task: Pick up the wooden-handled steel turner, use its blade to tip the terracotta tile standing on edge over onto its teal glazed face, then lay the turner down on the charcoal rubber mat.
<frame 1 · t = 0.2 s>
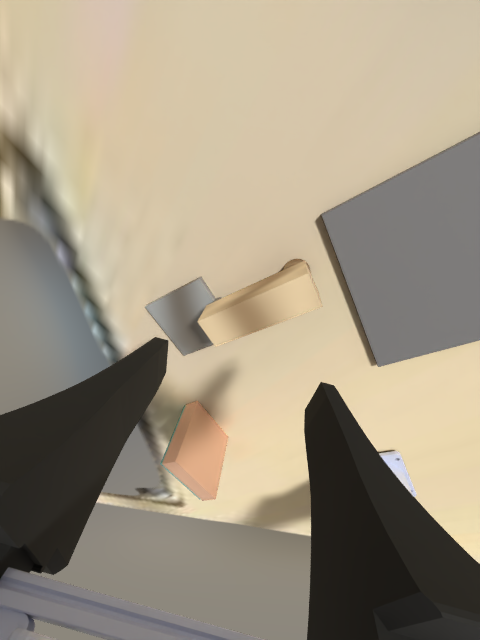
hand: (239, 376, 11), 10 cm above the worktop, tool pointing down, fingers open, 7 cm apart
tile: (207, 421, 30), on the worktop
turner: (234, 299, 21), on the worktop
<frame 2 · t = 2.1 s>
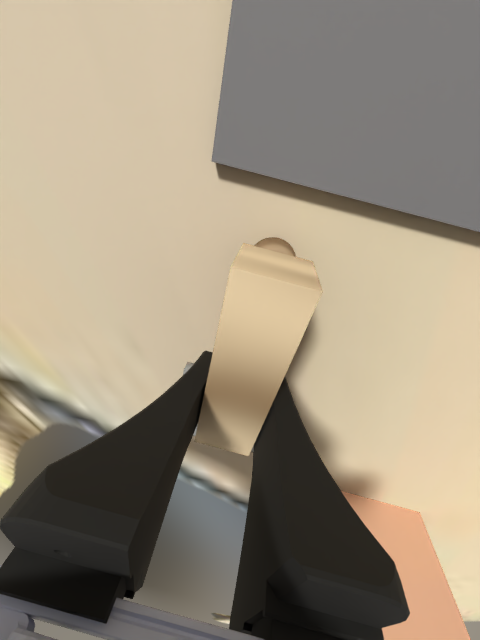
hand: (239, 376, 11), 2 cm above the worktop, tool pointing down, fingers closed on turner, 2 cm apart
tile: (368, 505, 19), on the worktop
turner: (243, 356, 13), on the worktop, touching gripper
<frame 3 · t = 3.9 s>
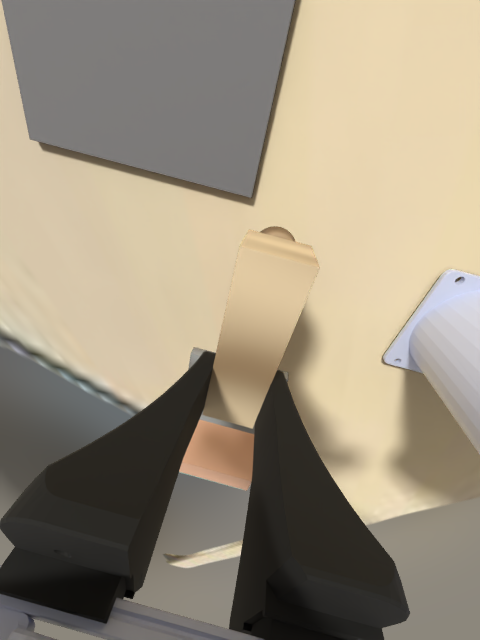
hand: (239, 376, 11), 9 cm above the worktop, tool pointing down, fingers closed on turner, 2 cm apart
tile: (224, 406, 26), on the worktop
turner: (246, 341, 14), point 5 cm above the worktop, touching gripper
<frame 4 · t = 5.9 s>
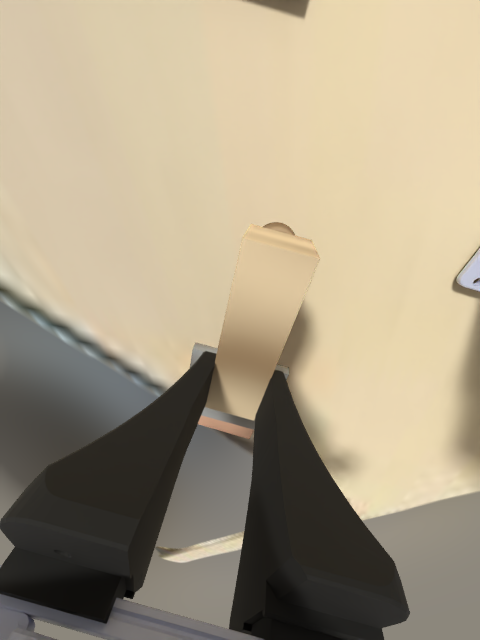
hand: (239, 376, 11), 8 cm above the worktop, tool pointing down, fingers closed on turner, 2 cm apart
tile: (233, 372, 21), point 1 cm above the worktop, tilted 90°
turner: (247, 336, 14), point 4 cm above the worktop, touching gripper
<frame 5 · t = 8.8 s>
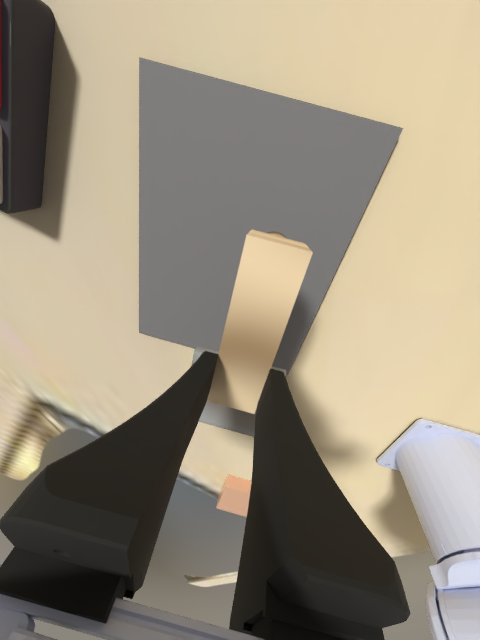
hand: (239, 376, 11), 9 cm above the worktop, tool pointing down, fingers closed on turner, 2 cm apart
tile: (251, 485, 33), point 1 cm above the worktop, tilted 90°
turner: (246, 338, 15), point 5 cm above the worktop, tilted 7°, touching gripper
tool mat: (235, 257, 18), on the worktop
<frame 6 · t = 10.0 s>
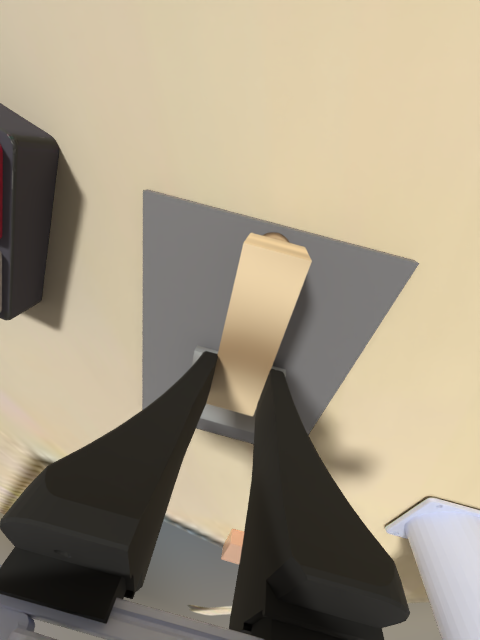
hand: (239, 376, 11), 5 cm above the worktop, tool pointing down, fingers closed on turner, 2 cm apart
tile: (256, 540, 33), point 1 cm above the worktop, tilted 90°
turner: (246, 338, 15), point 1 cm above the worktop, touching gripper, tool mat
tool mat: (241, 355, 17), on the worktop
when the fingers open (4 cm above the worktop, at t = 10.6 s): turner stays where it is, resting on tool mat.
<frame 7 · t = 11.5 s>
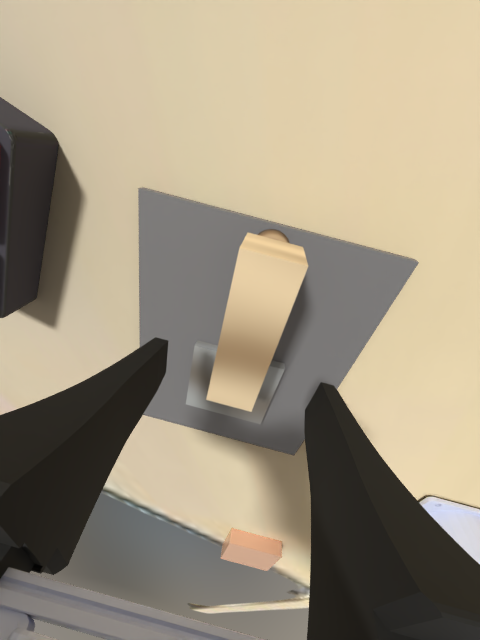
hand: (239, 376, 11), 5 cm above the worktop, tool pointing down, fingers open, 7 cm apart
tile: (256, 540, 33), point 1 cm above the worktop, tilted 90°
turner: (245, 334, 15), resting on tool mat
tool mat: (239, 355, 17), on the worktop
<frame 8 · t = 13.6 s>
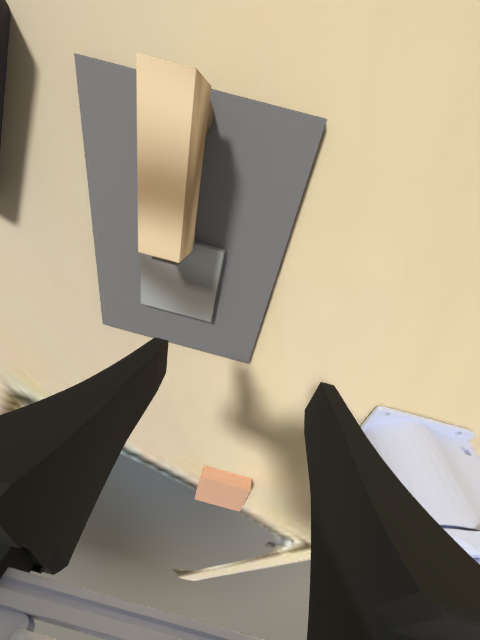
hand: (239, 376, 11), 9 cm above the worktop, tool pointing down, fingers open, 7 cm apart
tile: (226, 476, 34), point 1 cm above the worktop, tilted 90°
turner: (187, 217, 17), resting on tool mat
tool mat: (186, 247, 18), on the worktop
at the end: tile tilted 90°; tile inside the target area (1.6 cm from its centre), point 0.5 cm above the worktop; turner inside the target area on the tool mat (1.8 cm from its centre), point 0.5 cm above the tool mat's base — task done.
